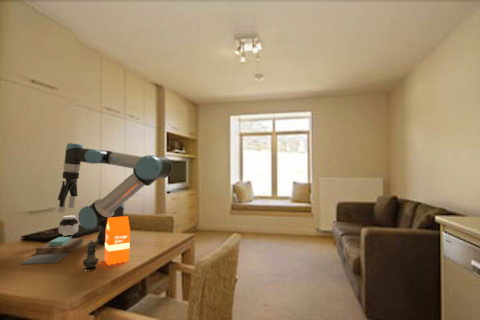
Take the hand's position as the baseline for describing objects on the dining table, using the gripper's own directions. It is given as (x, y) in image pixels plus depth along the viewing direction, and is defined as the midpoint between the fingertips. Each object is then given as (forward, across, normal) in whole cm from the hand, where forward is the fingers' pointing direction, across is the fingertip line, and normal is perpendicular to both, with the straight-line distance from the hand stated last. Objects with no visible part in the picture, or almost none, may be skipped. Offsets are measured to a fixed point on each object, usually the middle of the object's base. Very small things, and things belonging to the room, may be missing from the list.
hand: (66, 210), depth 149 cm
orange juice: (+14, +34, +34) cm, 50 cm away
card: (+14, +9, +2) cm, 17 cm away
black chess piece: (+15, +42, +26) cm, 51 cm away
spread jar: (+20, -20, -4) cm, 29 cm away
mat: (+17, +25, +3) cm, 30 cm away
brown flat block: (+18, +9, +3) cm, 20 cm away
